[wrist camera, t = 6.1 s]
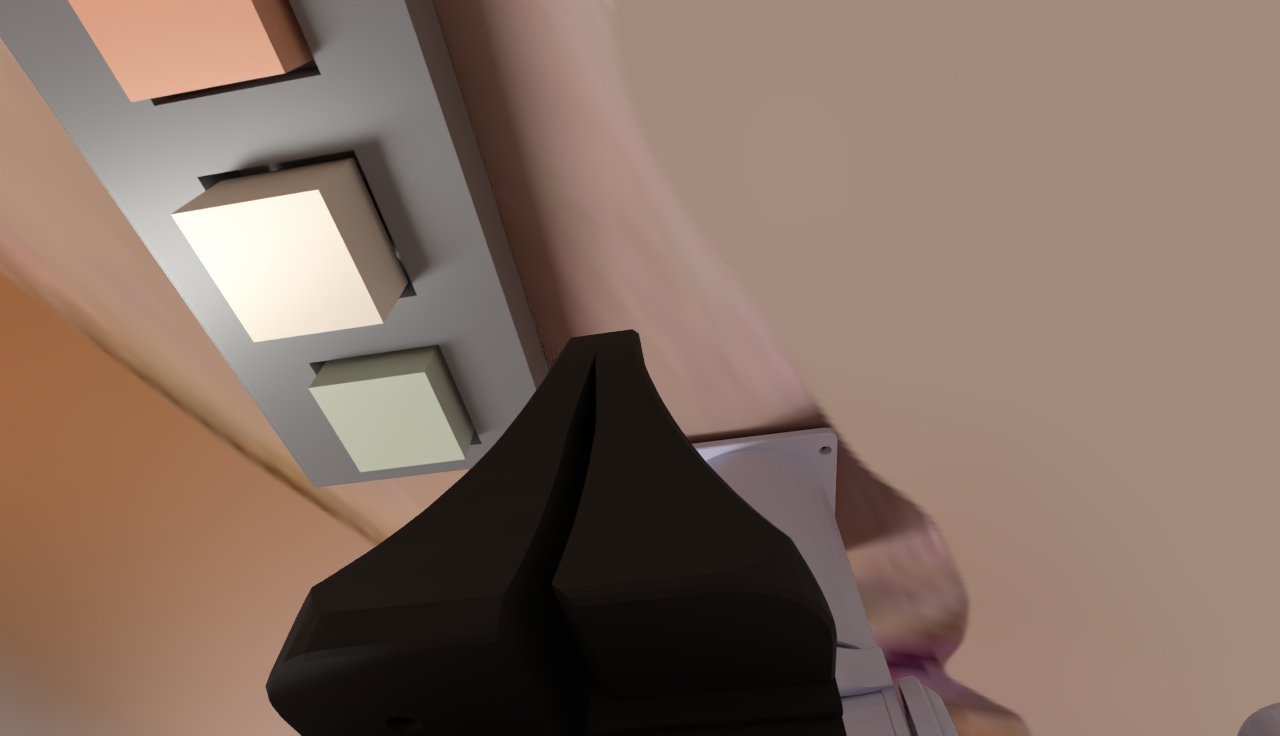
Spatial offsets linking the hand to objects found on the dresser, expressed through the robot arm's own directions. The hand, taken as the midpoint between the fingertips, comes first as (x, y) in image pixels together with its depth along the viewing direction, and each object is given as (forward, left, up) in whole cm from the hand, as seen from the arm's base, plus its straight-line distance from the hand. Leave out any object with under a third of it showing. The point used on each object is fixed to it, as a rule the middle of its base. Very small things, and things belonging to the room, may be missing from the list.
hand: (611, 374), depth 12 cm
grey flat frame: (+1, +9, -9) cm, 13 cm away
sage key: (-5, +9, -8) cm, 14 cm away
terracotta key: (+7, +9, -8) cm, 14 cm away
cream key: (+1, +9, -8) cm, 12 cm away
